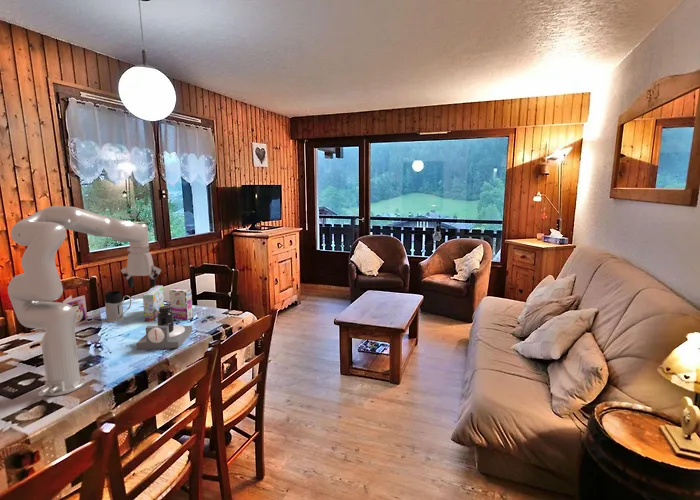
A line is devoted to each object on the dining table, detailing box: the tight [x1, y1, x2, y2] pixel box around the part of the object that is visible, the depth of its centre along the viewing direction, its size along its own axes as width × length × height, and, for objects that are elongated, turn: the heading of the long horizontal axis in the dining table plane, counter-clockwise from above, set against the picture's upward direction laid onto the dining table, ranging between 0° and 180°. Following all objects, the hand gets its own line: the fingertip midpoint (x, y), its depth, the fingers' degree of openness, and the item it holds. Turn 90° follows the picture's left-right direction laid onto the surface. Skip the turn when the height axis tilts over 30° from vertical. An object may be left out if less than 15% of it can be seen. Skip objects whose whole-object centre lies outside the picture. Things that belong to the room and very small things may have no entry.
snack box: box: [142, 285, 165, 322], centre depth 208 cm, size 21×6×15 cm, turn 13°
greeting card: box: [62, 294, 88, 327], centre depth 191 cm, size 11×7×15 cm, turn 165°
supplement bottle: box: [156, 305, 175, 333], centre depth 174 cm, size 7×7×12 cm
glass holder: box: [104, 290, 132, 323], centre depth 200 cm, size 9×14×15 cm, turn 88°
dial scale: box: [135, 324, 193, 350], centre depth 173 cm, size 21×18×10 cm
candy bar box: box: [169, 287, 194, 321], centre depth 203 cm, size 11×5×16 cm, turn 73°
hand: (142, 287), depth 169 cm, fingers open, 9 cm apart
